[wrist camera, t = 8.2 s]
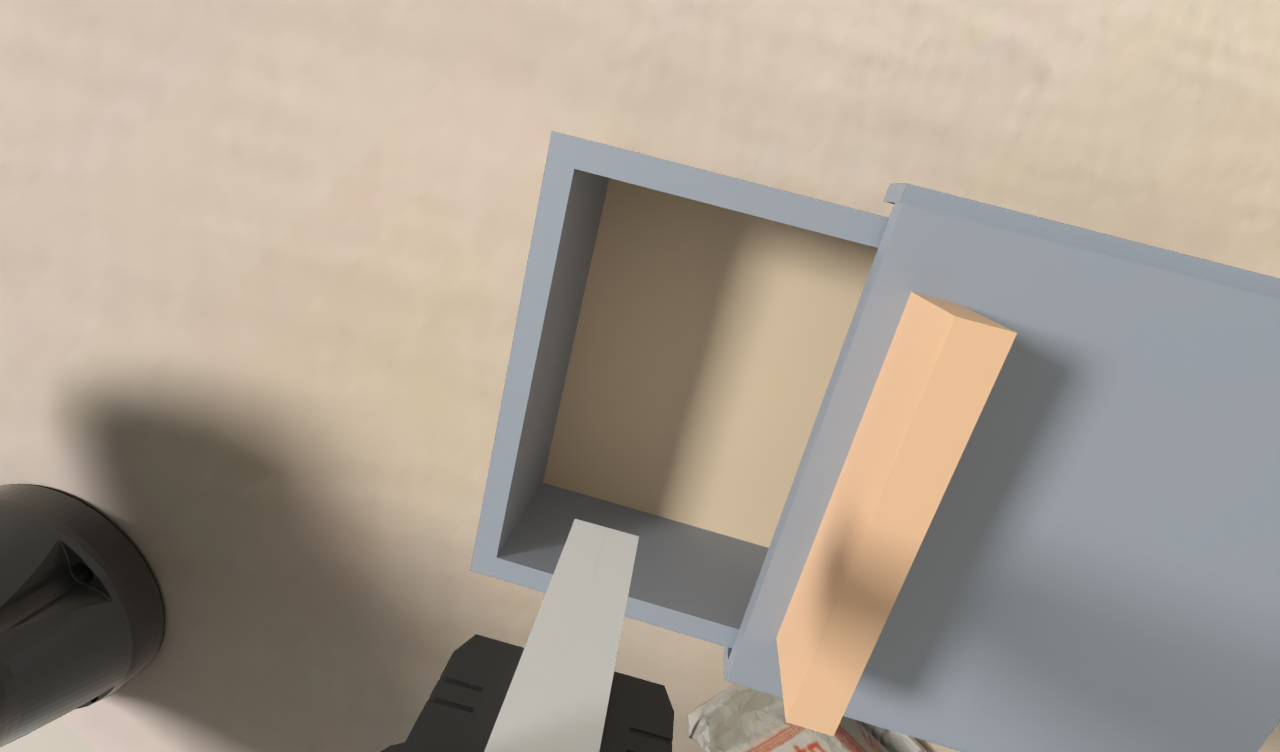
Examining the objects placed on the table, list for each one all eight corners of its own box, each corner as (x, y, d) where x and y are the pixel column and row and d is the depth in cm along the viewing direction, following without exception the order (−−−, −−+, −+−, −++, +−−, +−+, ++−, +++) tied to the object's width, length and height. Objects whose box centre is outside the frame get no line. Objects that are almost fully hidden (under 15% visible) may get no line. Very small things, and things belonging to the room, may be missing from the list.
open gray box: (526, 485, 34) (470, 570, 26) (598, 145, 28) (551, 130, 21) (847, 577, 33) (884, 693, 26) (986, 246, 28) (1087, 268, 20)
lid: (724, 646, 28) (723, 778, 21) (890, 183, 21) (957, 182, 15) (1154, 774, 27) (1283, 951, 20) (1461, 330, 20) (1785, 392, 14)
